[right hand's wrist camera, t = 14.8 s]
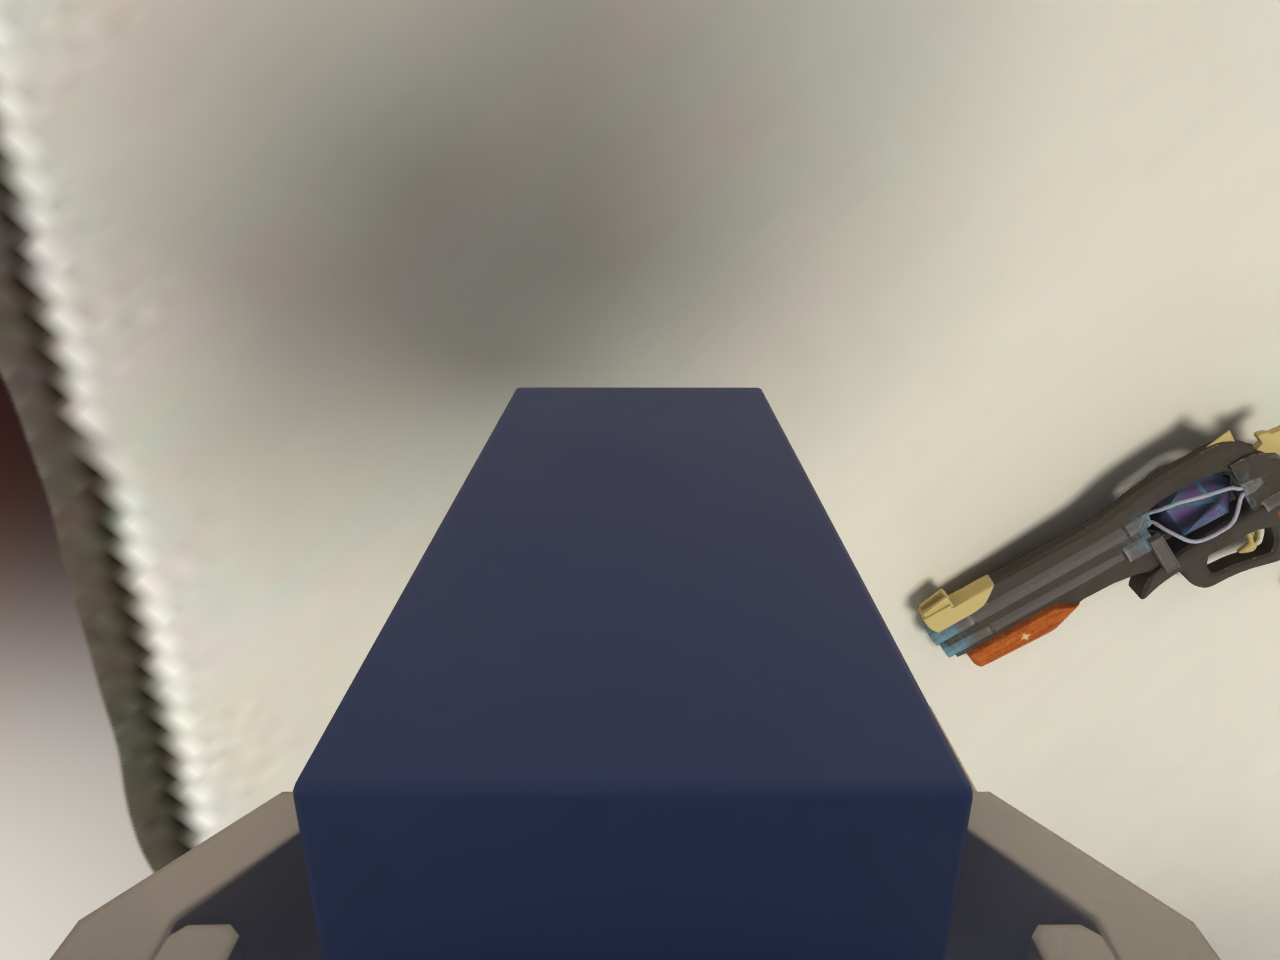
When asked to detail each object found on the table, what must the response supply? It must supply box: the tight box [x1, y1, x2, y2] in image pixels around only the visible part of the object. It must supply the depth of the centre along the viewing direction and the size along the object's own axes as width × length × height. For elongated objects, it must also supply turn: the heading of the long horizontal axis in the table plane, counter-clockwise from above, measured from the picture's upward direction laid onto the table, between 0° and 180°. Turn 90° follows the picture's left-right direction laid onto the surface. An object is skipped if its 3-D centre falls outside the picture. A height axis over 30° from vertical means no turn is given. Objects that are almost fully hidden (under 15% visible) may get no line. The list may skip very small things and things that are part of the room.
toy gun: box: [918, 425, 1280, 666], centre depth 36 cm, size 3×19×10 cm
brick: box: [293, 388, 973, 960], centre depth 11 cm, size 4×7×10 cm, turn 0°
